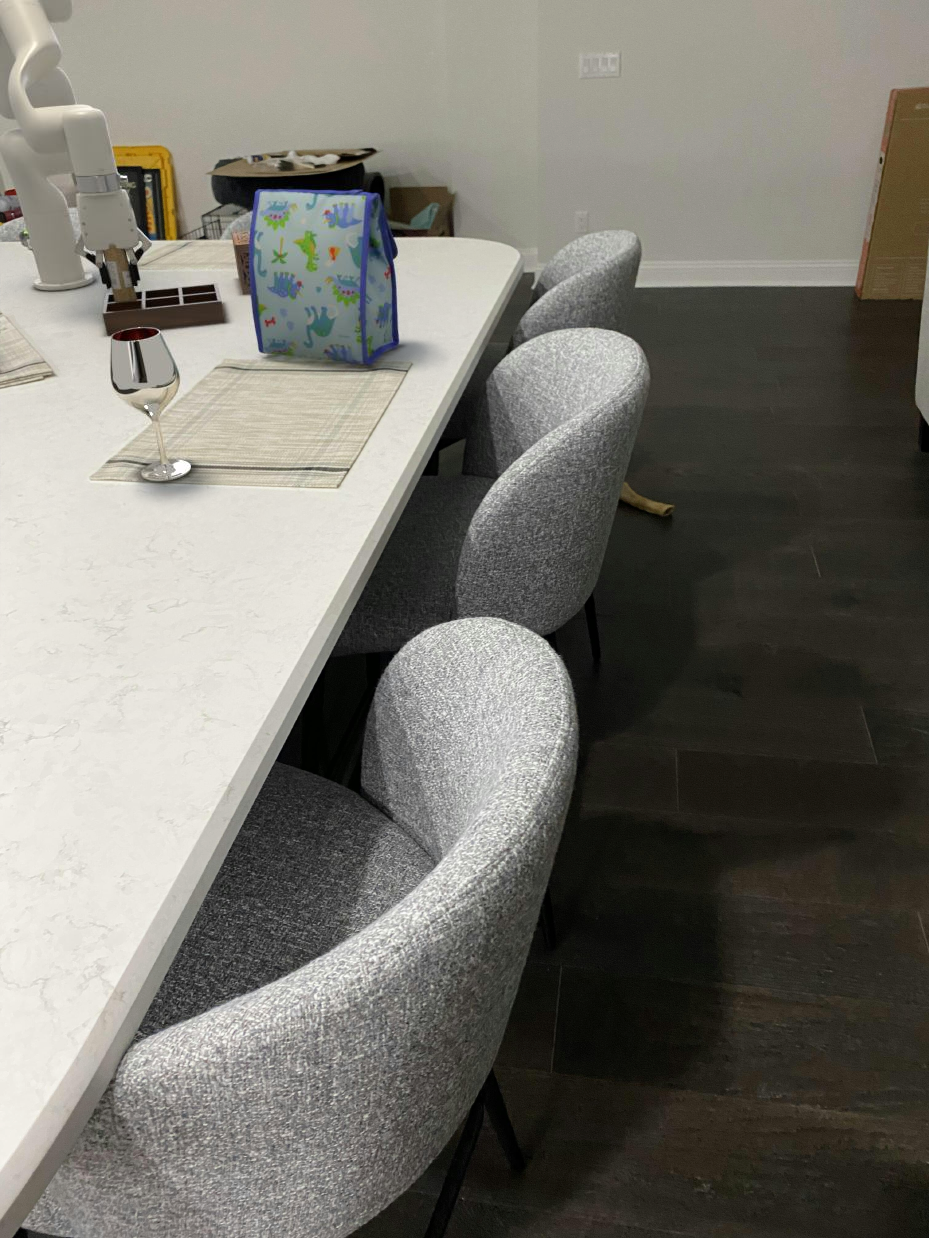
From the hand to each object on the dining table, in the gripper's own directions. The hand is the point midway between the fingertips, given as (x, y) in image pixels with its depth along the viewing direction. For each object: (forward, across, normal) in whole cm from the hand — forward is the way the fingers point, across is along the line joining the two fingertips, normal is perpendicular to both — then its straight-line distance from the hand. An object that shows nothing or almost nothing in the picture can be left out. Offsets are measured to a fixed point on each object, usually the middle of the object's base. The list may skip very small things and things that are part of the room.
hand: (122, 285), depth 181 cm
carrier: (+6, -7, +4) cm, 10 cm away
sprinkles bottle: (+4, 0, 0) cm, 4 cm away
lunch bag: (+7, -35, +36) cm, 51 cm away
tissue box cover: (+7, -36, -16) cm, 40 cm away
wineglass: (+7, -6, +80) cm, 80 cm away
